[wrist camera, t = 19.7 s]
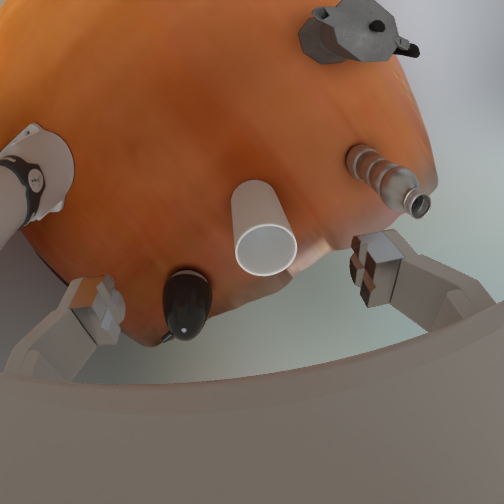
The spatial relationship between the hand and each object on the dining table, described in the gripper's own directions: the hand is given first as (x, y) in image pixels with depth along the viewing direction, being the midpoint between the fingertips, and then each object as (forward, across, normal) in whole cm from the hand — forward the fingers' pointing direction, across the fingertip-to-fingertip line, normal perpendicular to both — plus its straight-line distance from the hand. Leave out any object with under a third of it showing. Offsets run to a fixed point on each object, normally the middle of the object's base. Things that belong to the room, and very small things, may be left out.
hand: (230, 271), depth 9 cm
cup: (+39, -3, +16) cm, 43 cm away
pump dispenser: (+39, +13, +32) cm, 52 cm away
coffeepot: (+39, -19, -12) cm, 45 cm away
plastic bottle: (+39, -23, +10) cm, 47 cm away
